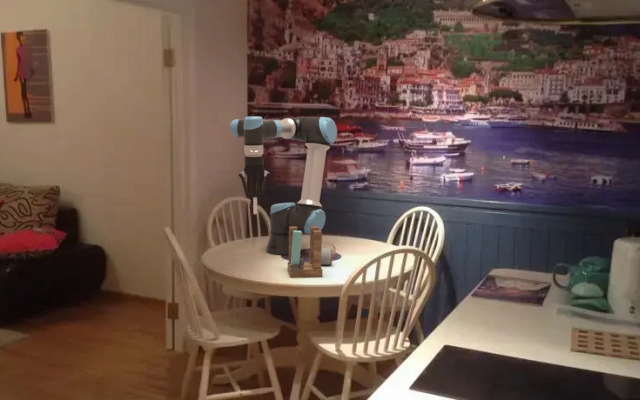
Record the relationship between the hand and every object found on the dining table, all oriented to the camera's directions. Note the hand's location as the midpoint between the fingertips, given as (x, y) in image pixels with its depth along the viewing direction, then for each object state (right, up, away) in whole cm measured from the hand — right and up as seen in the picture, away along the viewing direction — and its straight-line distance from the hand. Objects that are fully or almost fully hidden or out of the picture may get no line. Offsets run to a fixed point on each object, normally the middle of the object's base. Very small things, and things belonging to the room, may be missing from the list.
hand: (255, 213), depth 252 cm
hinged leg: (+16, -22, +1) cm, 27 cm away
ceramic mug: (+27, -23, +22) cm, 42 cm away
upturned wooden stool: (+20, -25, +6) cm, 32 cm away
